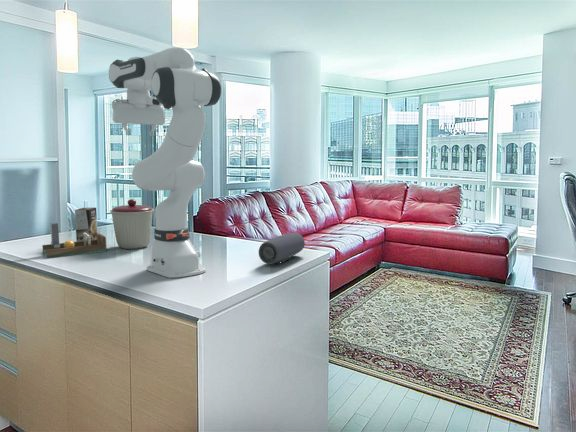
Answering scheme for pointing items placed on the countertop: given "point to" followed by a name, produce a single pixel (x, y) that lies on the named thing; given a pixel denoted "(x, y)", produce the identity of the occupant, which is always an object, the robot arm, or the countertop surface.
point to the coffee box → (86, 223)
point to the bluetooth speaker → (281, 248)
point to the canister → (132, 225)
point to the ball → (69, 244)
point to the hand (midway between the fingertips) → (140, 135)
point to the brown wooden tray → (78, 247)
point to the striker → (54, 236)
